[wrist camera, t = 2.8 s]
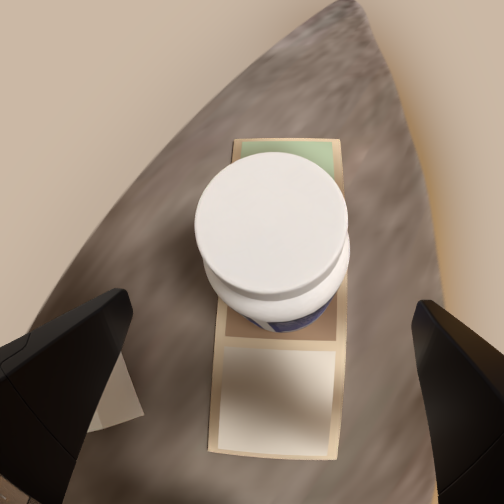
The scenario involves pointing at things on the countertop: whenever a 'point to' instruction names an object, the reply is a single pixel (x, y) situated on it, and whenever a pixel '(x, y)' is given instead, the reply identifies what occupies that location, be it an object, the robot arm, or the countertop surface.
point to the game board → (281, 359)
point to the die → (117, 400)
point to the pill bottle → (274, 239)
